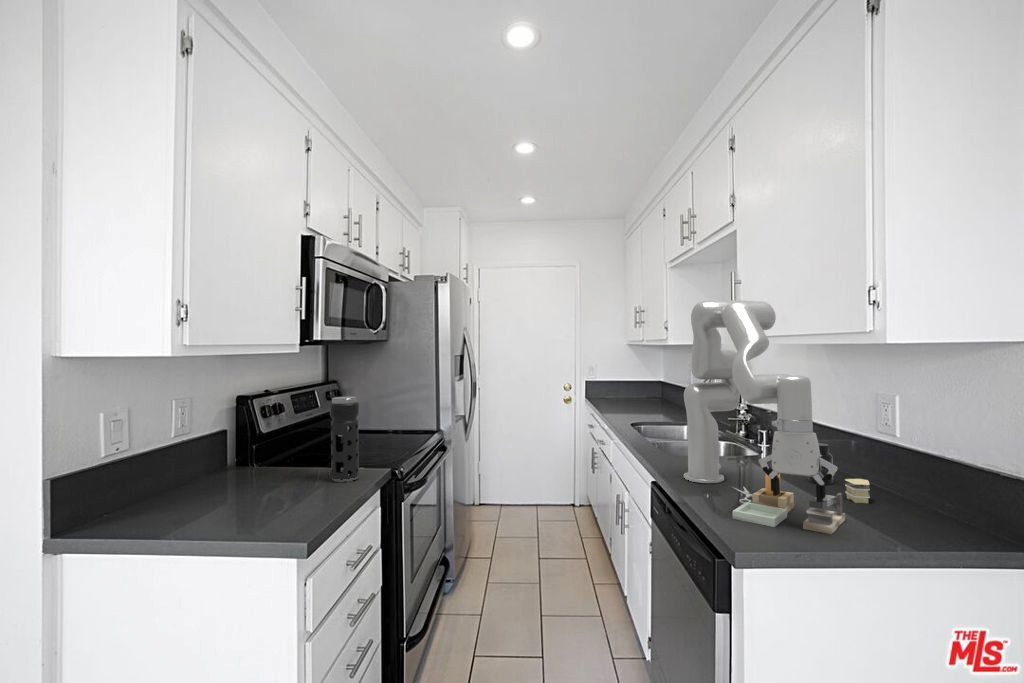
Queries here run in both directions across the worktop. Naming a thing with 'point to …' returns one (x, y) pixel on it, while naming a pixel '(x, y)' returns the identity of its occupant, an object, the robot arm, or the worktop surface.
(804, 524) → the base
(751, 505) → the tray
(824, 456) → the supplement bottle
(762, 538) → the worktop surface
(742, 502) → the scissors
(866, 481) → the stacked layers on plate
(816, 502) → the lever
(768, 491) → the plug
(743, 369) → the robot arm
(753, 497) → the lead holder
